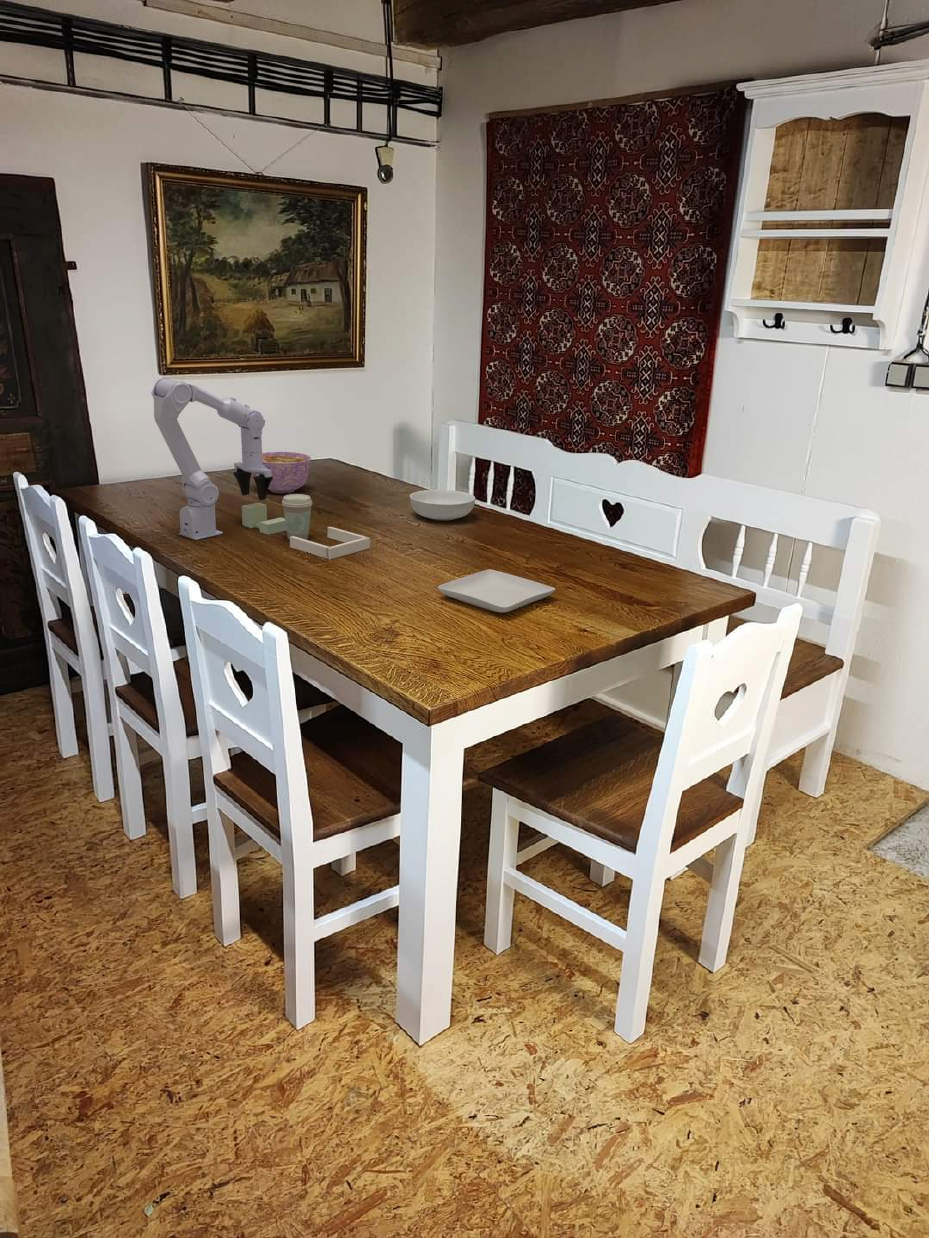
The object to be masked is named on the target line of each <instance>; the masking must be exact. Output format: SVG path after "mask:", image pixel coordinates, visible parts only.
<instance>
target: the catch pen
mask: <svg viewBox="0 0 929 1238" xmlns="http://www.w3.org/2000/svg"><path fill="white" fill-rule="evenodd" d="M326 529H327V538H328V539H332V540H335V541H339V542H341V543H340V544H336V545H333V546H328V545H325V544H321V543H318V542H315V541H312V540H308V539H306V540H305V539H302V538H298V537H295V536H291V537H290V539H289V548H292V549H295V550H299V551H301V552H304V553H307V552H308V553H309V554H310V553H311V555H314V556H317V557H321V558H323V559H327V560H332V559H337V558H339V557H340V558H341V557H343V556H347V555H350V554H354V553H357V552H361V551H364V550H368V549H371V538H370V536H369V537H368V536H366V535H362V534H359V533H354V532H350V531H347V530H343V529H340V528H337V527H333V526H327V528H326ZM308 553H307V554H308Z"/></svg>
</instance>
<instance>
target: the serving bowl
mask: <svg viewBox="0 0 929 1238" xmlns="http://www.w3.org/2000/svg"><path fill="white" fill-rule="evenodd" d="M409 501H410V505H411V507H412V509H413V511H414V512H415V513H416V514H418V515H420V516H422V517H424V518H427V519H430V520H434V521H441V522H442V521H444V522H445V521H452V520H457V519H460V518H464V517H465V516H467V515H469V514H470V512H471V511H472V510H473V508H474V507H475V502H476V497H475V496H474V495H473V494H471V493H468V492H465V491H459V490H451V489H424V490H419V491H415V492H412V493H410V494H409Z"/></svg>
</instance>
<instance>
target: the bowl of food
mask: <svg viewBox="0 0 929 1238" xmlns="http://www.w3.org/2000/svg"><path fill="white" fill-rule="evenodd" d="M311 460H312V456H310V455H308V454H306V453H300V452H291V451H290V452H289V451H267V452H262V464H263V465H265V467H266V468H267V469H270V470H272V476H273V479H272V481H271V483H270V485H269V487H268V491H270V492H271V493H276V494H292V493H294V492H295V490H298V489H300V488H301V487H304V485H305V483H306V482H307V478H308V474H309V470H310V465H311ZM256 476H259V475H258V474H255V477H256Z"/></svg>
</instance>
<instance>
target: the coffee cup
mask: <svg viewBox="0 0 929 1238" xmlns="http://www.w3.org/2000/svg"><path fill="white" fill-rule="evenodd" d="M311 498H312V497H311V496H310V495H307V494H302V493H289V494H286V495H284V496H283V498H282V501H281V505H282V508H283V515H284V516H283V517H284V519H285V523H286V536H287V539H289V540H290V537H291V536H295V537H298V538H302V539H305V540H308V539H309V533H310V522H311V511H312V505H313V500H312V499H311Z"/></svg>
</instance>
